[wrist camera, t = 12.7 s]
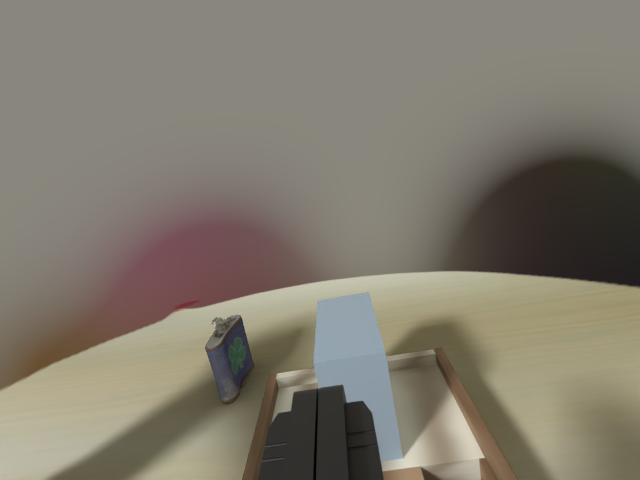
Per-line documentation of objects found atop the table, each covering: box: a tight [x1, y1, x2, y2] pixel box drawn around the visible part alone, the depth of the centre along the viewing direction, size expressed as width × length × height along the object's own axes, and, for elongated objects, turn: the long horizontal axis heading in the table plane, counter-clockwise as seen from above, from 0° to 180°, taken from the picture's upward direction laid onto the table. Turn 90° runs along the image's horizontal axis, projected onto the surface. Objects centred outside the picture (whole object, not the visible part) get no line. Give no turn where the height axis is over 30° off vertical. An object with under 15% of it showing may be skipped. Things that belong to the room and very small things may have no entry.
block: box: [313, 292, 403, 462], centre depth 35 cm, size 6×12×11 cm, turn 179°
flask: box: [205, 315, 254, 404], centre depth 49 cm, size 9×3×11 cm, turn 172°
